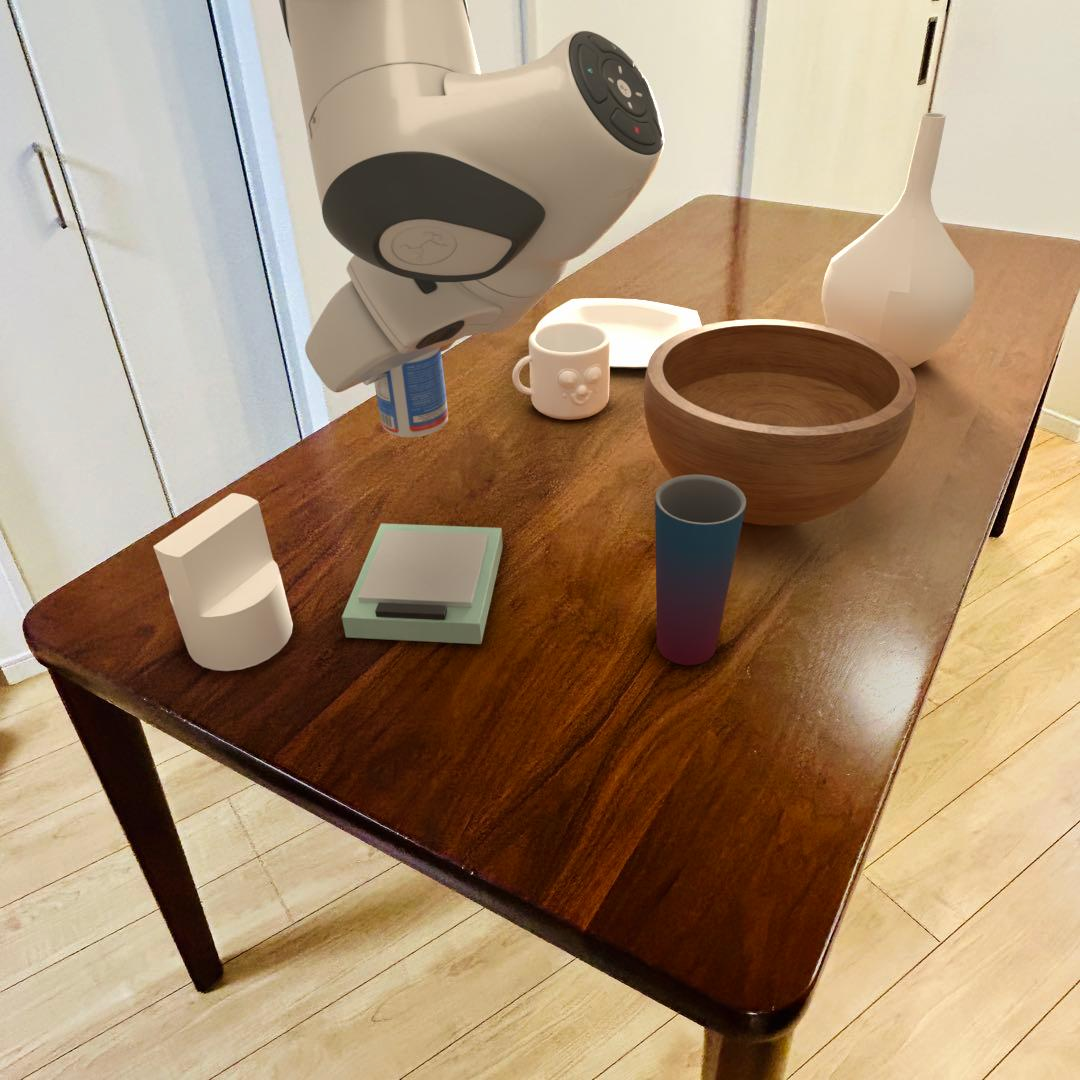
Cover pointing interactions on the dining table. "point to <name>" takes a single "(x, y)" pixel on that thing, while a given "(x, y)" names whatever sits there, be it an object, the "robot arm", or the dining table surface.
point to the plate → (627, 325)
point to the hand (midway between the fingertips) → (400, 359)
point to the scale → (425, 584)
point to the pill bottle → (413, 397)
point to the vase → (903, 269)
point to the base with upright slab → (226, 586)
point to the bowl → (779, 413)
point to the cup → (694, 562)
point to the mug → (567, 370)
